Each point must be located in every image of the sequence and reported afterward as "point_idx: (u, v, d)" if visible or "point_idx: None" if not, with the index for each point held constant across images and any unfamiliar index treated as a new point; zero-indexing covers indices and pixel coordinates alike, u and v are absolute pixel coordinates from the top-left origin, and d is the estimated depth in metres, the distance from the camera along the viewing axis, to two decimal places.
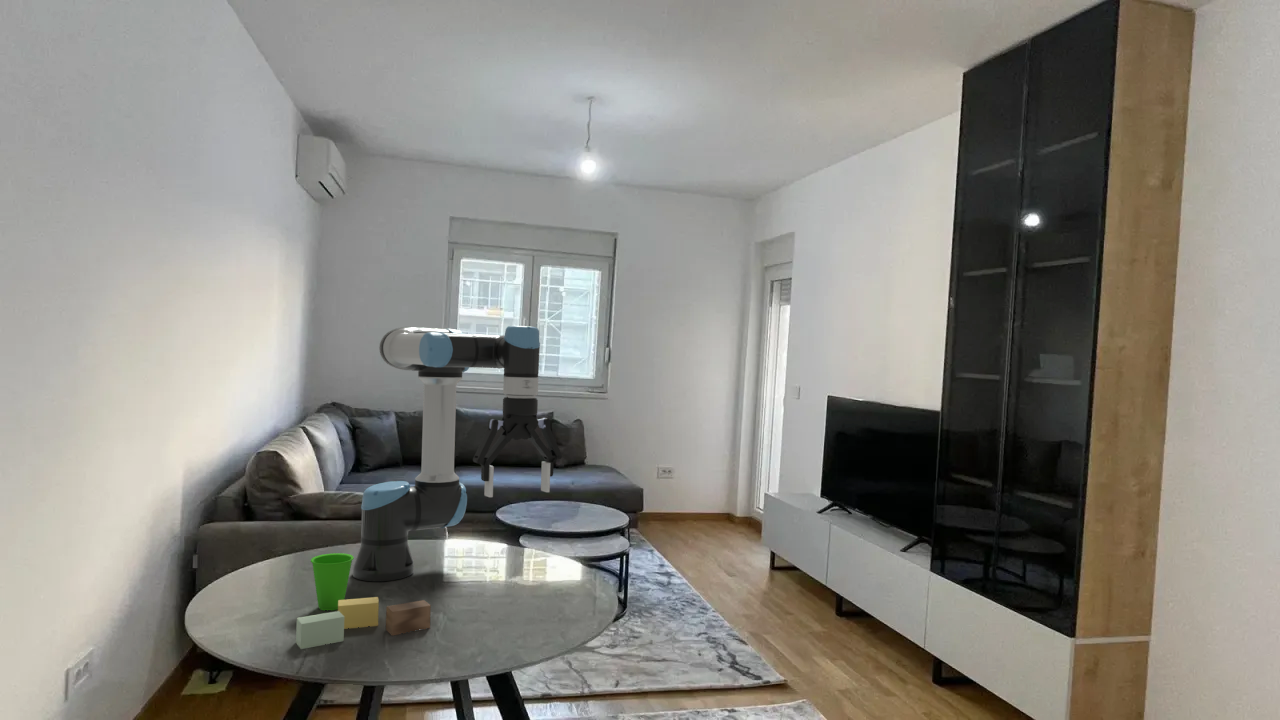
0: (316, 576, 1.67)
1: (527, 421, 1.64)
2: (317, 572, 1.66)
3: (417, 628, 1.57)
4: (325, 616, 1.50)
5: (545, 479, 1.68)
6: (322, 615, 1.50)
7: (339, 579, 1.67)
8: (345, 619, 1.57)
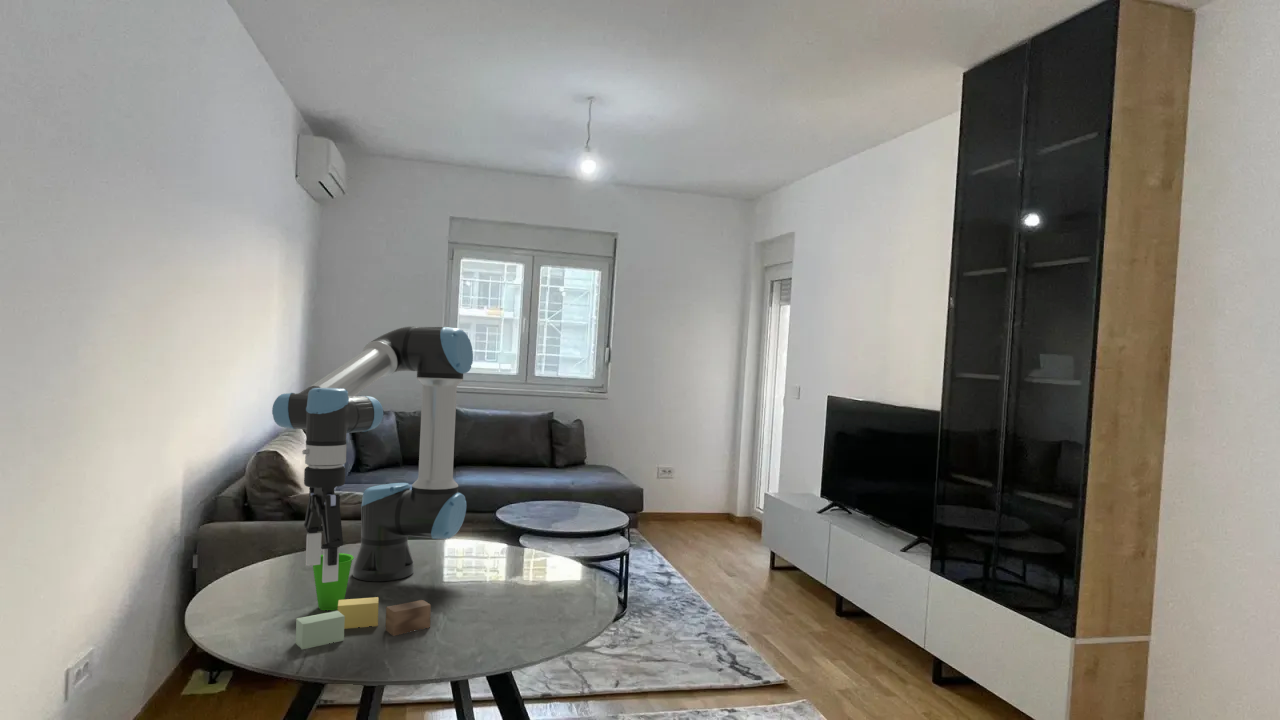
0: (316, 576, 1.67)
1: (319, 494, 1.48)
2: (317, 572, 1.66)
3: (418, 628, 1.57)
4: (325, 616, 1.50)
5: None
6: (321, 615, 1.50)
7: (339, 579, 1.67)
8: (345, 619, 1.57)
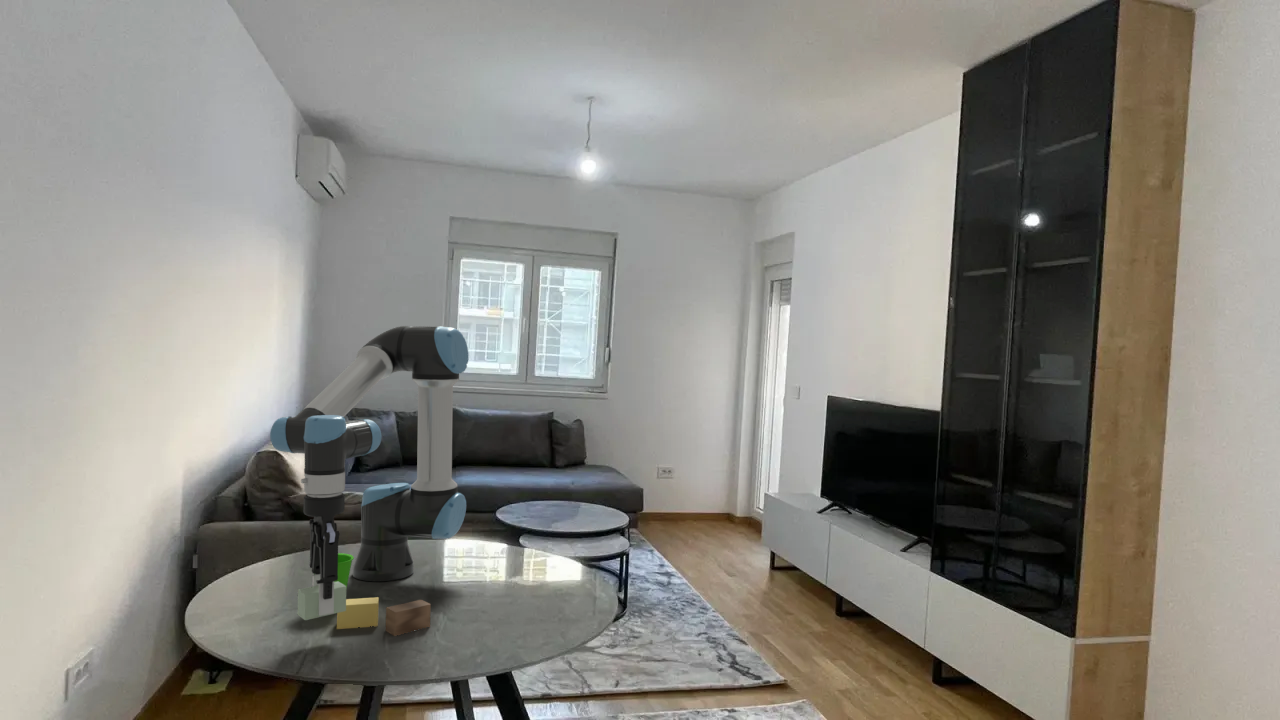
0: None
1: (320, 519, 1.48)
2: None
3: (418, 627, 1.57)
4: None
5: None
6: None
7: (339, 579, 1.67)
8: (344, 619, 1.57)
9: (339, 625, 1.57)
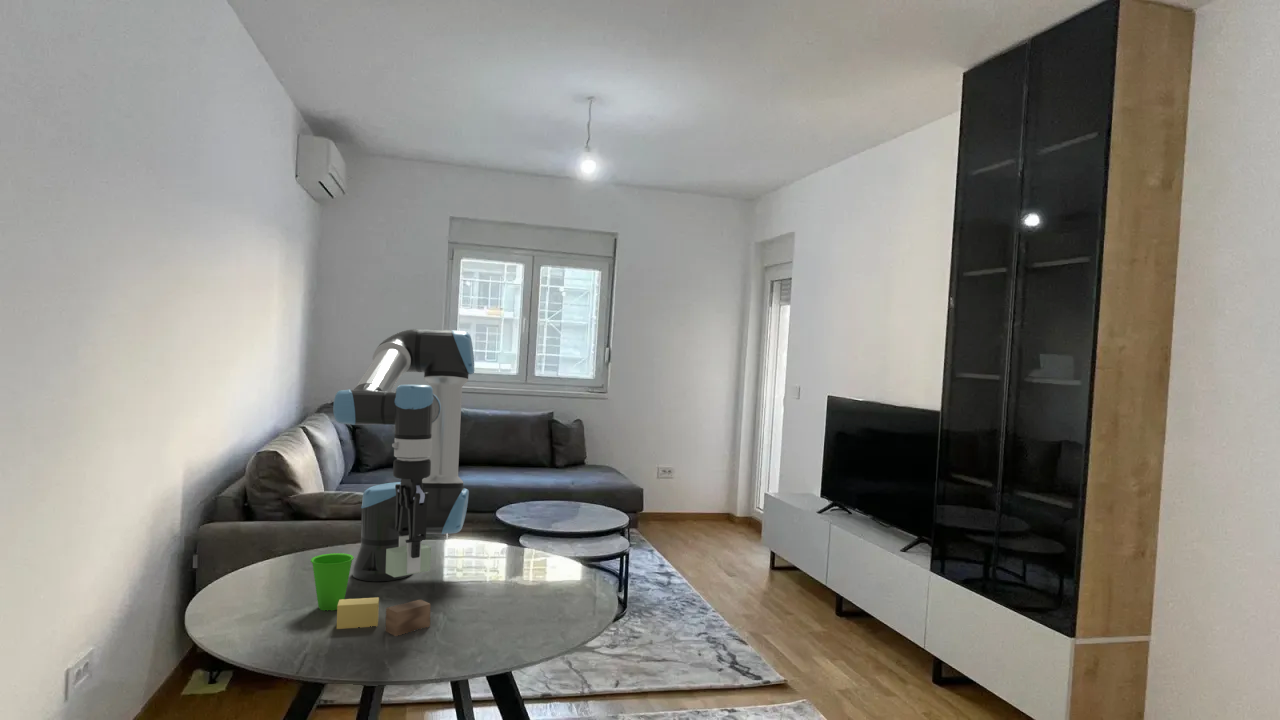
0: (316, 576, 1.67)
1: (409, 481, 1.56)
2: (317, 572, 1.66)
3: (418, 627, 1.58)
4: None
5: None
6: None
7: (339, 579, 1.67)
8: (344, 619, 1.57)
9: (338, 625, 1.57)
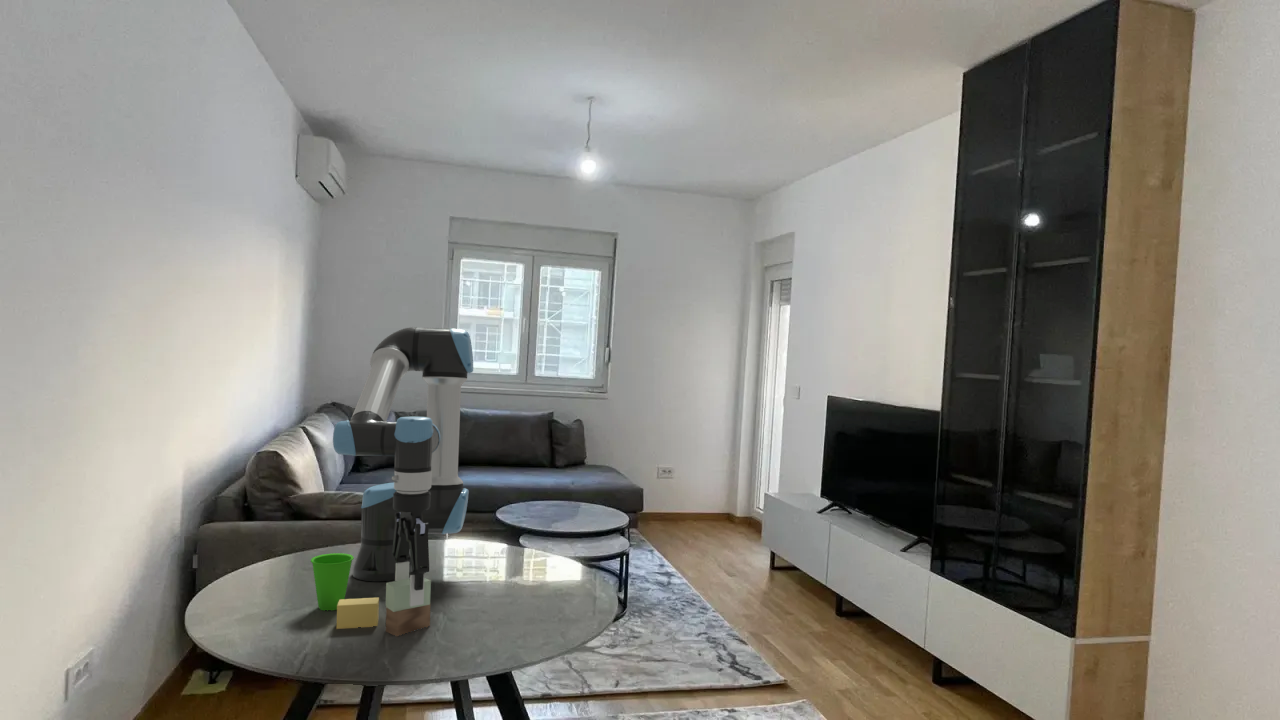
0: (316, 576, 1.67)
1: (408, 515, 1.56)
2: (317, 572, 1.66)
3: (419, 627, 1.58)
4: None
5: None
6: (408, 580, 1.59)
7: (339, 579, 1.67)
8: (344, 619, 1.57)
9: (338, 625, 1.57)
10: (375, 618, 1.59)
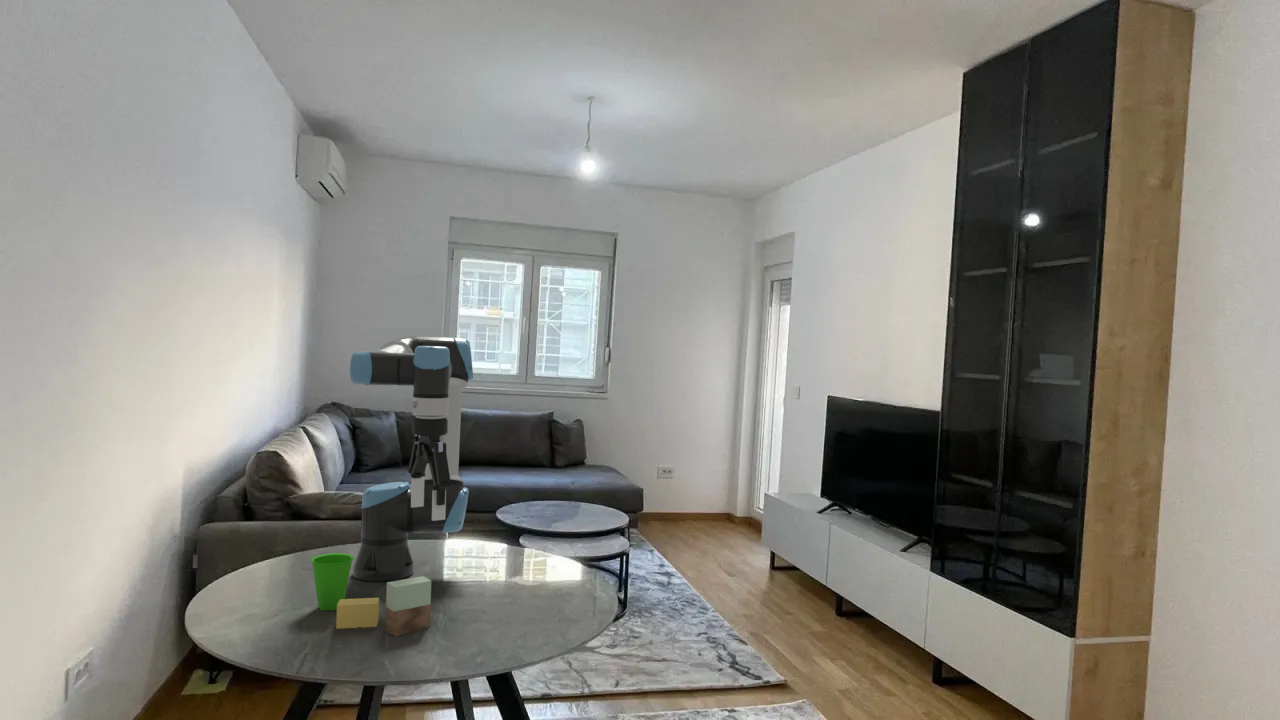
0: (316, 576, 1.67)
1: (426, 442, 1.63)
2: (317, 572, 1.66)
3: (419, 627, 1.58)
4: (413, 580, 1.59)
5: None
6: (409, 580, 1.59)
7: (339, 579, 1.67)
8: (344, 619, 1.57)
9: (338, 625, 1.57)
10: (375, 618, 1.59)
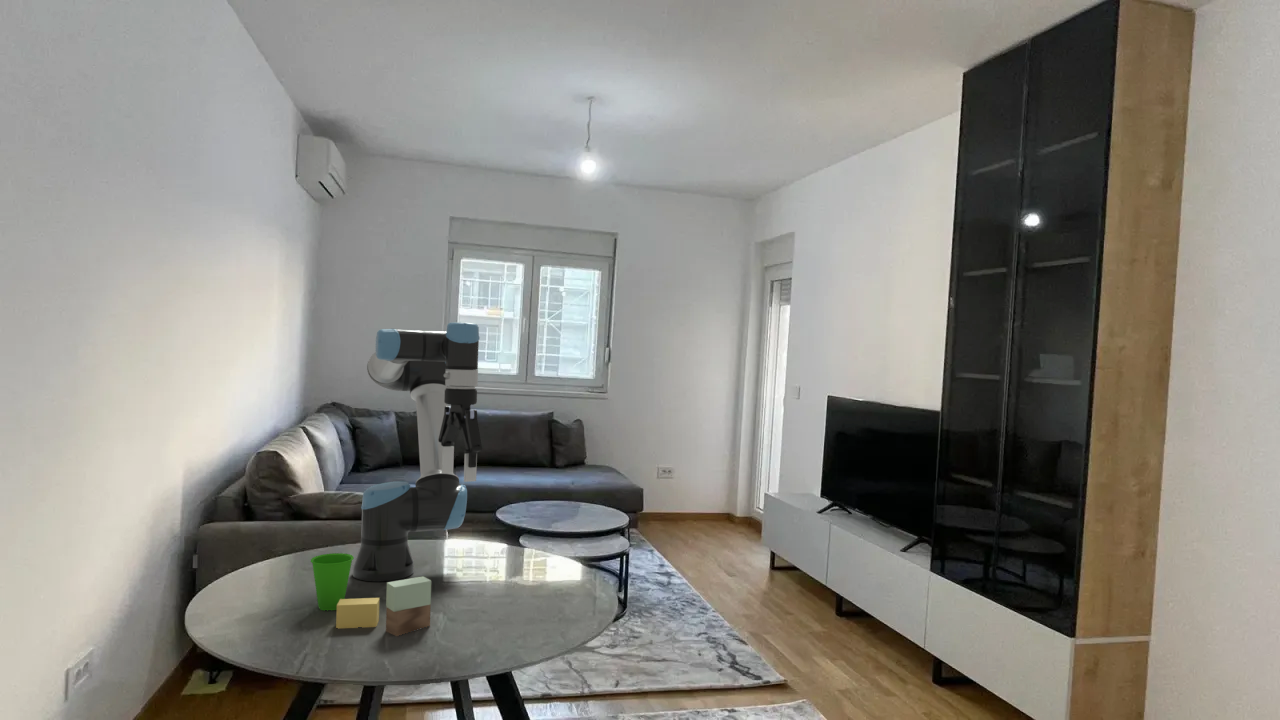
0: (316, 576, 1.67)
1: (458, 410, 1.77)
2: (317, 572, 1.66)
3: (419, 627, 1.58)
4: (413, 580, 1.59)
5: None
6: (409, 580, 1.59)
7: (339, 579, 1.67)
8: (344, 619, 1.57)
9: (338, 625, 1.57)
10: (374, 618, 1.58)
